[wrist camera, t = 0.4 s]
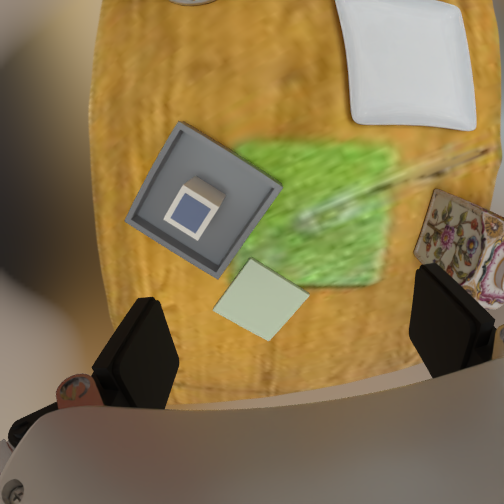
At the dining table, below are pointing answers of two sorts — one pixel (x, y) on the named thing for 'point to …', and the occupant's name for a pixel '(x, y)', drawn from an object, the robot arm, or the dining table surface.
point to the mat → (260, 300)
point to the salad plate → (408, 63)
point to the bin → (217, 175)
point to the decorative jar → (465, 246)
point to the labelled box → (194, 207)
